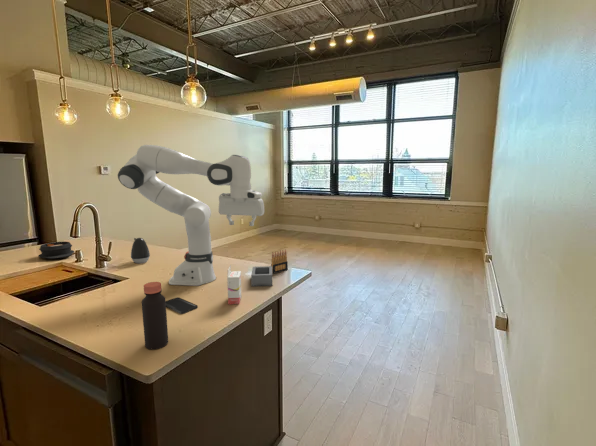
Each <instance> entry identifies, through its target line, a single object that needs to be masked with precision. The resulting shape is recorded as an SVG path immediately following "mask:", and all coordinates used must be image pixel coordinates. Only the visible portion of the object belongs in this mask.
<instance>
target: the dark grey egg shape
mask: <svg viewBox="0 0 596 446" xmlns="http://www.w3.org/2000/svg"><path fill="white" fill-rule="evenodd" d="M133 240H134V241H133V243H132V246H131V249H130V259H131V260H132V262H134V263H135V264H145V263H147V262H148V261H149V259H150V256H151V254H150V250H149V246H148V245H147V242H146V240H145V239H144V238H142V237H136V238H135V237H134V238H133Z"/></svg>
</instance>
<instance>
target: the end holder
mask: <svg viewBox="0 0 596 446" xmlns="http://www.w3.org/2000/svg"><path fill="white" fill-rule="evenodd" d="M250 279H251V283H250V284H251V287H273V274H272V266H271V265H270V266H269V265H267V266H266V265H265V266H264V265H263V266H262V265H261V266H252V269H251V277H250Z"/></svg>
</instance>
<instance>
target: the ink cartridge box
mask: <svg viewBox="0 0 596 446" xmlns="http://www.w3.org/2000/svg"><path fill="white" fill-rule="evenodd" d="M231 267H232V265H231V264H230V265H229V267H228V269H227V276H226V277H227V279H226V280H227V281H226V283H227V304H228V305H239V304H240V303H241V299H242V271H241V270H237V271H236V270H235V271H231Z"/></svg>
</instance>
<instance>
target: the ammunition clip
mask: <svg viewBox="0 0 596 446" xmlns="http://www.w3.org/2000/svg"><path fill="white" fill-rule="evenodd" d="M274 251H275V250H274ZM274 251H272V253H271V265H270V266H272V275H273V274H278V273H282V272H286V271H288V270H289V269H288V268H289V267H288V255H287V249H282V250H279V251H275V252H274Z"/></svg>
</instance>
